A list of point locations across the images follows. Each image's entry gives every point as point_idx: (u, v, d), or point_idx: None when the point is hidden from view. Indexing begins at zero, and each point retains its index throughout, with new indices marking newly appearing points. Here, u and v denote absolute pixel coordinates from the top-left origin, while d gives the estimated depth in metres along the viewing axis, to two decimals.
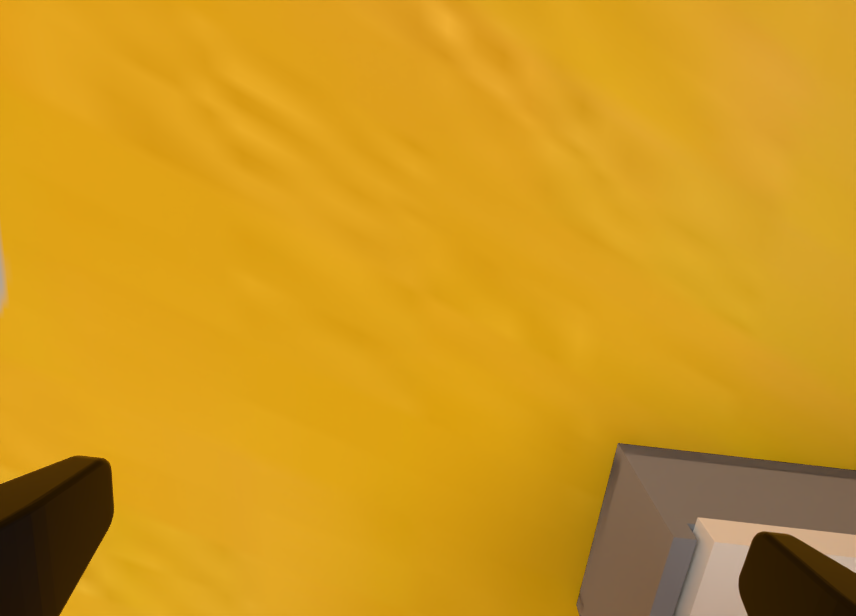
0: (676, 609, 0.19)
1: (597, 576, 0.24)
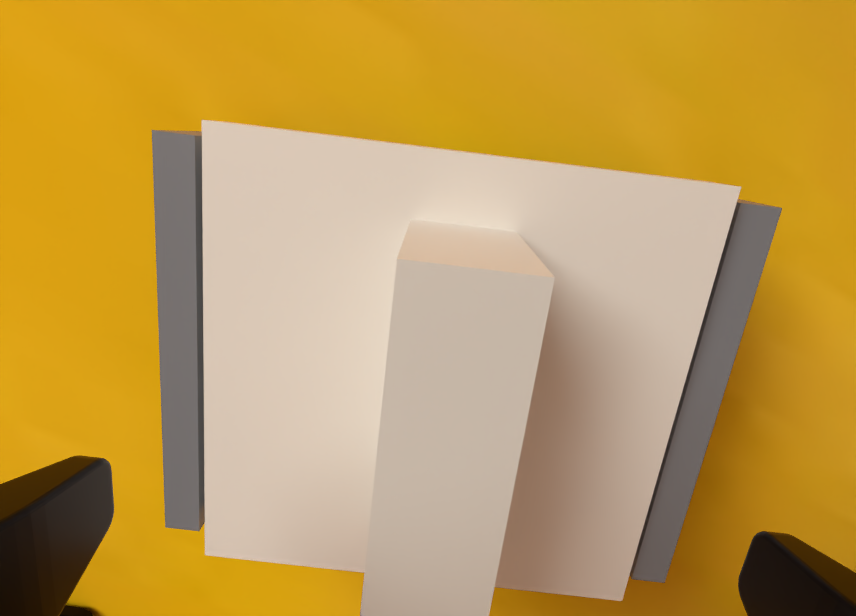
0: None
1: None
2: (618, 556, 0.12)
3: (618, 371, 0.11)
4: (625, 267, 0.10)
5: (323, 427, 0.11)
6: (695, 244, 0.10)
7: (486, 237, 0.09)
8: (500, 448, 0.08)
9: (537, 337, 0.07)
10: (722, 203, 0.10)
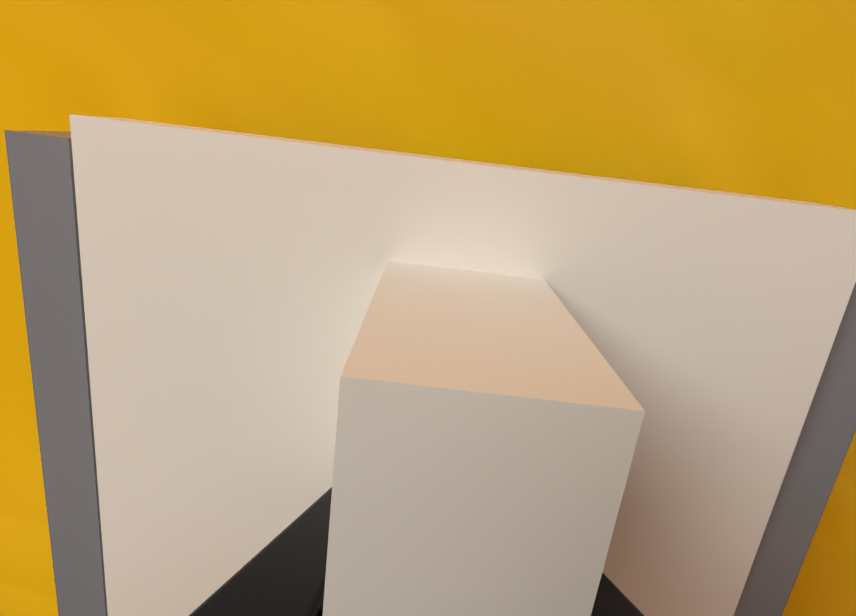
0: None
1: None
2: None
3: (686, 473, 0.08)
4: (702, 330, 0.07)
5: None
6: (807, 297, 0.07)
7: (502, 296, 0.06)
8: None
9: (607, 516, 0.04)
10: (851, 238, 0.07)
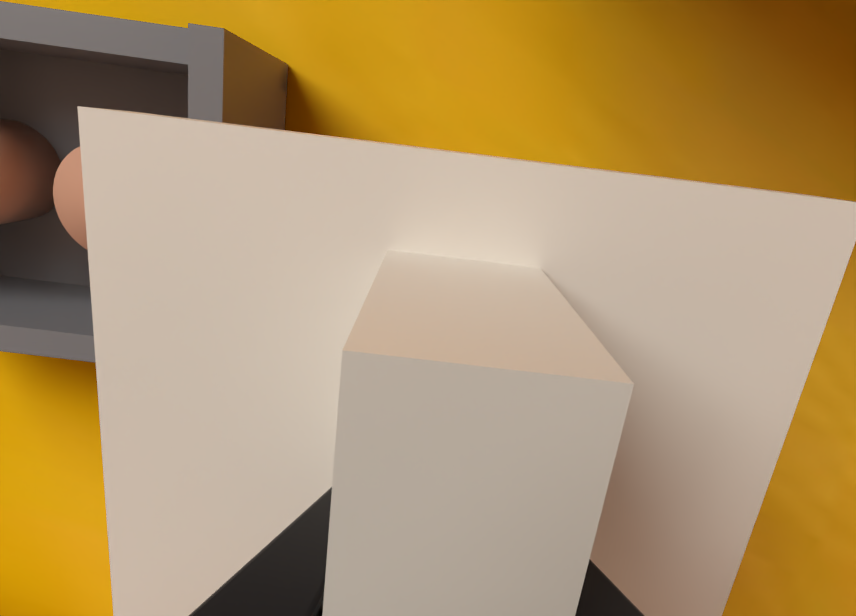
0: None
1: None
2: None
3: (680, 459, 0.08)
4: (695, 318, 0.07)
5: (271, 532, 0.08)
6: (797, 286, 0.07)
7: (499, 282, 0.06)
8: None
9: (598, 486, 0.04)
10: (840, 227, 0.07)
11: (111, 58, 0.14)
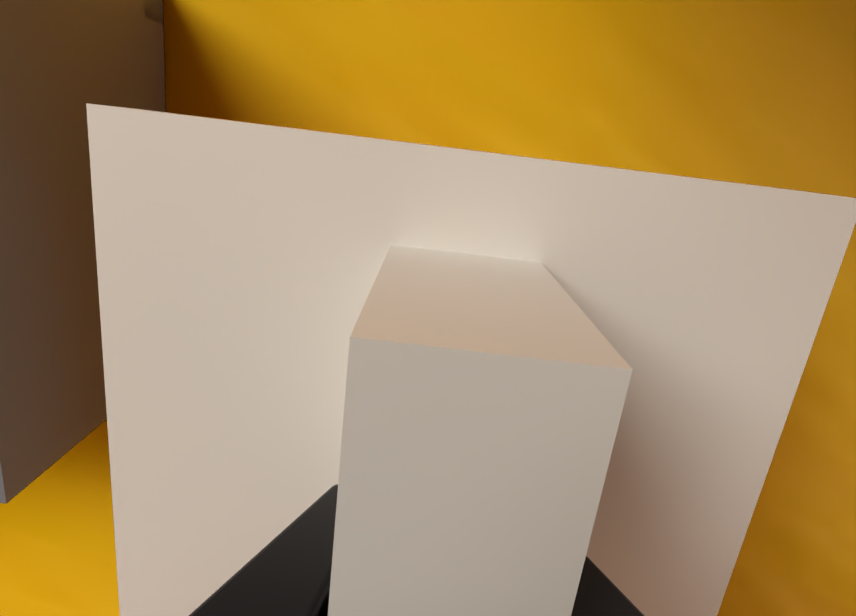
0: None
1: None
2: None
3: (679, 452, 0.08)
4: (693, 312, 0.07)
5: (275, 523, 0.08)
6: (794, 280, 0.07)
7: (500, 276, 0.06)
8: None
9: (598, 469, 0.04)
10: (835, 222, 0.07)
11: None
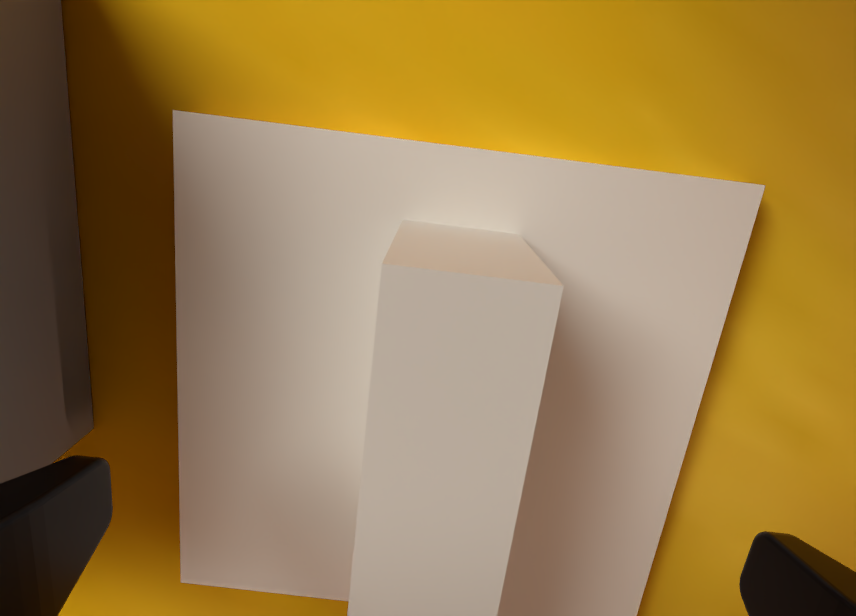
0: None
1: None
2: (627, 585, 0.11)
3: (629, 386, 0.10)
4: (637, 273, 0.09)
5: (308, 446, 0.11)
6: (714, 248, 0.09)
7: (485, 240, 0.08)
8: (500, 479, 0.07)
9: (543, 354, 0.06)
10: (744, 203, 0.09)
11: None
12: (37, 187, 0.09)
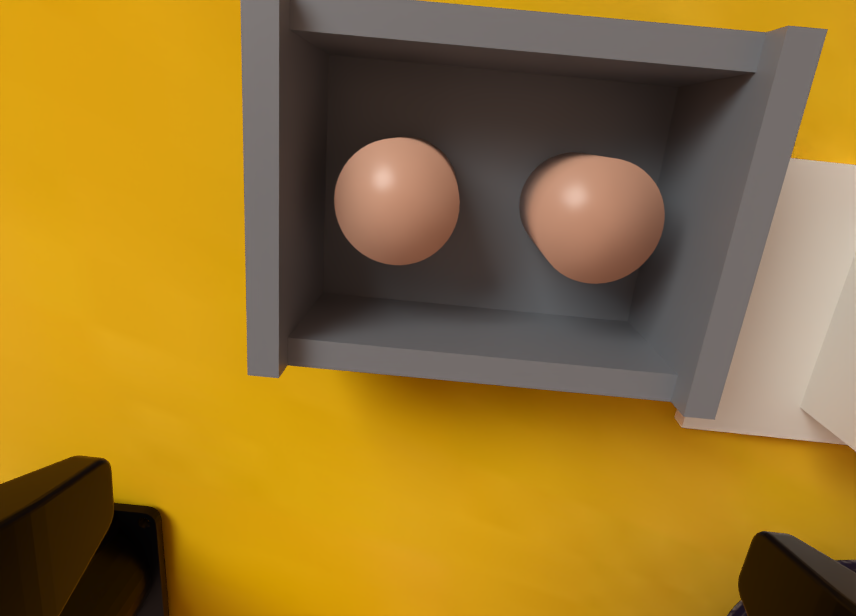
0: None
1: None
2: None
3: None
4: None
5: (782, 341, 0.18)
6: None
7: None
8: None
9: None
10: None
11: (599, 67, 0.13)
12: None
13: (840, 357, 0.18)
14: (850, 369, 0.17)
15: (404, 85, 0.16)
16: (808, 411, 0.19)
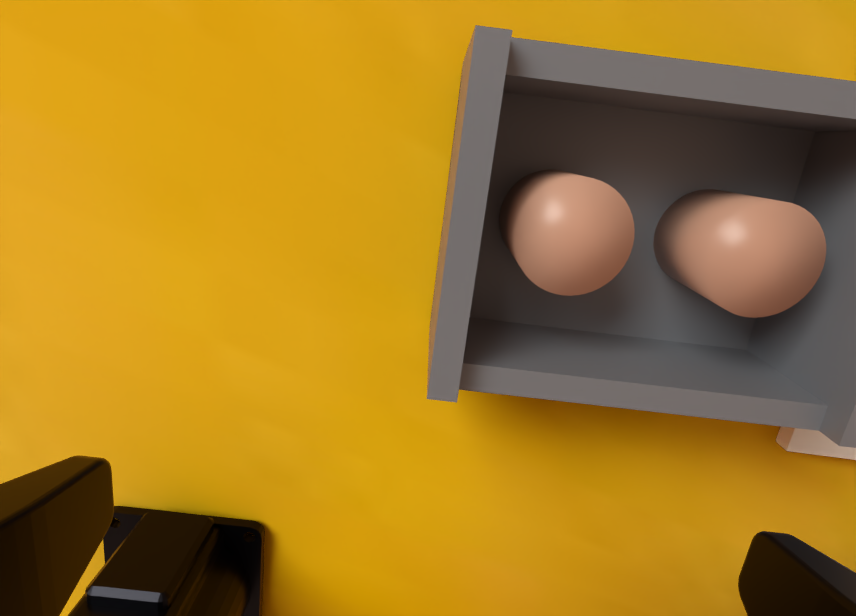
0: None
1: None
2: None
3: None
4: None
5: None
6: None
7: None
8: None
9: None
10: None
11: (769, 115, 0.14)
12: None
13: None
14: None
15: (555, 121, 0.17)
16: None
